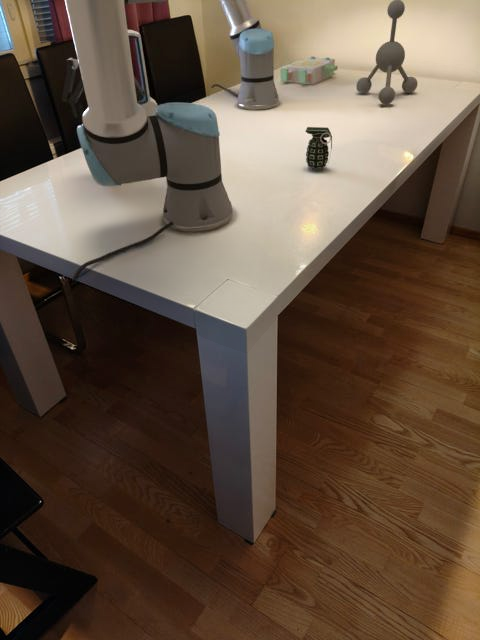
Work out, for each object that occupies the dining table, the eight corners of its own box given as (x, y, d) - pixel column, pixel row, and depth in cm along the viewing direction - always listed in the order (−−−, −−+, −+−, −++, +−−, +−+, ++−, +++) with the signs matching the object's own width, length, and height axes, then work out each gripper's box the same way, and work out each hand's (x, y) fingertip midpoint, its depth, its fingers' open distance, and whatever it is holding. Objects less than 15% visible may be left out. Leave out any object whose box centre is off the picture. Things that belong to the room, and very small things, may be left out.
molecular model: (436, 99, 173) (455, -2, 154) (383, 108, 167) (396, 4, 148) (396, 85, 190) (408, -7, 172) (347, 93, 184) (354, -1, 166)
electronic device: (125, 150, 145) (103, 35, 126) (123, 143, 151) (101, 31, 132) (166, 145, 147) (150, 30, 129) (163, 137, 153) (147, 27, 134)
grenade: (303, 171, 125) (304, 132, 119) (306, 163, 129) (307, 125, 123) (329, 173, 124) (331, 132, 117) (331, 164, 128) (333, 125, 122)
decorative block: (303, 54, 216) (344, 57, 207) (302, 70, 220) (342, 74, 211) (271, 65, 200) (314, 69, 191) (271, 82, 204) (314, 87, 195)
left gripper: (148, 29, 112) (161, 124, 125) (44, 33, 114) (68, 126, 127) (140, 34, 106) (155, 133, 119) (31, 38, 108) (57, 135, 121)
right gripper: (383, -81, 162) (375, -5, 175) (307, -77, 164) (305, -1, 177) (387, -82, 156) (378, -3, 169) (308, -77, 158) (306, 1, 171)
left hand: (110, 130), depth 123 cm, fingers open, 13 cm apart
